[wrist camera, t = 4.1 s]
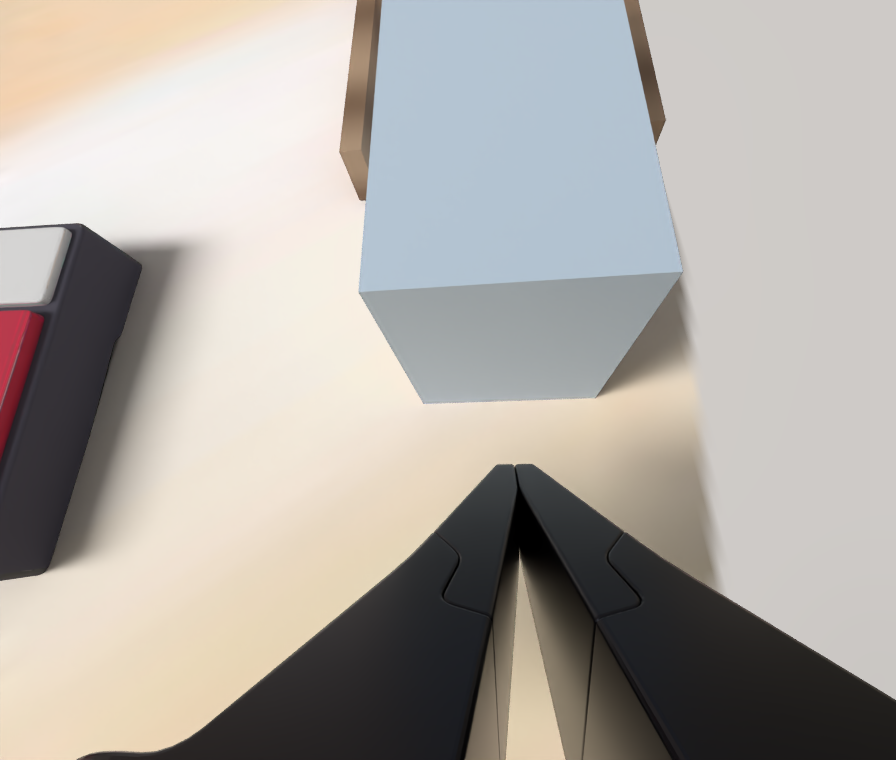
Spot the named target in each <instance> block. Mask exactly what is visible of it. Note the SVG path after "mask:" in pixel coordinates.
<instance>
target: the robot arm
mask: <svg viewBox="0 0 896 760" xmlns="http://www.w3.org/2000/svg"><path fill="white" fill-rule="evenodd" d="M519 552H520V559H521V565H522V570H523V574H524V578H525V583H526V587H527V592H528V596H529V600H530V605H531V609H532V614H533V618H534V622H535V627H536V631H537V636H538V640H539V644H540V649H541V653H542V658H543V662H544V666H545V671H546V675H547V680H548V684H549V688H550V693H551V697H552V702H553V706H554V710H555V715H556V719H557V724H558V728H559V732H560V737H561V741H562V746H563V750H564V755H565V759H566V760H896V700H895V699H893V698H891V697H890V696H888V695H887V694H885V693H883V692H882V691H880V690H878V689H877V688H875V687H873V686H872V685H870V684H868V683H867V682H865V681H863V680H862V679H860V678H859V677H857V676H855V675H854V674H852V673H850V672H849V671H847V670H845V669H844V668H842V667H840V666H839V665H837V664H835V663H834V662H832V661H830V660H829V659H827V658H826V657H824V656H822V655H821V654H819V653H817V652H816V651H814V650H812V649H810V648H809V647H807V646H806V645H804V644H802V643H801V642H799V641H797V640H796V639H794V638H793V637H791V636H789V635H788V634H786V633H784V632H782V631H781V630H779V629H778V628H776V627H774V626H773V625H771V624H769V623H768V622H766V621H764V620H763V619H761V618H760V617H758V616H756V615H755V614H753V613H751V612H750V611H748V610H746V609H745V608H743V607H741V606H740V605H738V604H736V603H734V602H733V601H731V600H730V599H728V598H727V597H725V596H723V595H722V594H720V593H718V592H717V591H715V590H713V589H712V588H710V587H708V586H707V585H705V584H703V583H702V582H700V581H698V580H697V579H695V578H694V577H692V576H690V575H689V574H687V573H685V572H684V571H682V570H681V569H679V568H678V567H676V566H674V565H673V564H671V563H670V562H668V561H666V560H665V559H663V558H662V557H660V556H659V555H657V554H656V553H655V552H653V551H652V550H650V549H649V548H647V547H646V546H645V545H643V544H642V543H640V542H639V541H638V540H636V539H635V538H633V537H632V536H631V535H629V534H628V533H624V531H623V530H621V529H620V528H619V527H617V526H616V525H615V524H613V523H612V522H611V521H609V520H608V519H607V518H605V517H604V516H603V515H601V514H600V513H598V512H597V511H596V510H594V509H593V508H592V507H590V506H589V505H588V504H586V503H585V502H584V501H582V500H581V499H580V498H578V497H577V496H575V495H574V494H573V493H571V492H570V491H569V490H567V489H566V488H565V487H563V486H562V485H561V484H559V483H558V482H556V481H555V480H554V479H552V478H551V477H550V476H548V475H547V474H546V473H544V472H543V471H542V470H540V469H539V468H538V467H536V466H535V465H533V464H517V465H516V466H515V467H514V465H512V464H500V465H496V466H495V467H494V468H493V469H492V470H491V471H490V472H489V473H488V474H487V476H486V477H485V478H484V479H483V480H482V481H481V482H480V483H479V484H478V485H477V486H476V487H475V488H474V490H473V491H472V492H471V493H470V494H469V495H468V496H467V497H466V498H465V499H464V500H463V501H462V502H461V504H460V505H459V506H458V507H457V508H456V509H455V510H454V511H453V512H452V513H451V514H450V515H449V516H448V518H447V519H446V520H445V521H444V522H443V523H442V524H441V525H440V526H439V527H438V528H437V529H436V530H435V532H434V533H432V534H431V535H430V536H429V537H428V538H427V539H426V540H425V541H424V542H423V543H422V544H421V545H420V546H419V547H418V548H417V549H416V550H415V551H414V552H413V553H412V554H411V555H410V556H409V557H408V558H407V559H406V560H405V561H404V562H403V563H401V564H400V565H399V566H398V567H397V568H396V569H395V570H393V571H392V572H391V573H390V574H389V575H388V576H386V577H385V578H384V579H383V580H381V581H380V582H379V583H378V584H377V585H375V586H374V587H373V588H372V589H371V590H369V591H368V592H367V593H366V594H365V595H363V596H362V597H361V598H360V599H358V600H357V601H356V602H355V603H354V604H352V605H351V606H350V607H349V608H348V609H346V610H345V611H344V612H343V613H341V614H340V615H339V616H338V617H337V618H335V619H334V620H333V621H332V622H331V623H329V624H328V625H327V626H326V627H325V628H323V629H322V630H321V631H320V632H318V633H317V634H316V635H315V636H314V637H312V638H311V639H310V640H309V641H308V642H306V643H305V644H304V645H303V646H301V647H300V648H299V649H298V650H297V651H295V652H294V653H293V654H292V655H291V656H289V657H288V658H287V659H286V660H285V661H283V662H282V663H281V664H280V665H278V666H277V667H276V668H275V669H274V670H272V671H271V672H270V673H269V674H268V675H266V676H265V677H264V678H263V679H261V680H260V681H259V682H258V683H257V684H255V685H254V686H253V687H252V688H251V689H249V690H248V691H247V692H246V693H245V694H243V695H242V696H241V697H240V698H238V699H237V700H236V701H235V702H234V703H232V704H231V705H230V706H229V707H228V708H226V709H225V710H224V711H223V712H222V713H220V714H219V715H218V716H217V717H215V718H214V719H213V720H212V721H211V722H209V723H208V724H207V725H206V726H205V727H203V728H202V729H200V730H199V731H198V732H196V733H195V734H193V735H192V736H191V737H189V738H187V739H185V740H183V741H181V742H180V743H178V744H176V745H174V746H171V747H168V748H165V749H162V750H159V751H154V752H128V751H103V752H96V753H91V754H88V755H85V756H83V757H81V758H78V759H77V760H506V746H507V732H508V718H509V703H510V689H511V675H512V660H513V646H514V632H515V617H516V603H517V589H518V574H519Z"/></svg>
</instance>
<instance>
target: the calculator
mask: <svg viewBox="0 0 896 760" xmlns="http://www.w3.org/2000/svg"><path fill="white" fill-rule="evenodd" d="M141 268H142V266H141V264H140V263H139V262H137V261H136V260H134V259H133V258H132V257H130V256H129V255H127V254H126V253H124V252H123V251H121V250H120V249H118V248H117V247H116V246H114V245H113V244H111V243H110V242H108V241H107V240H105V239H104V238H102V237H101V236H99V235H98V234H96V233H95V232H93V231H92V230H91V229H89V228H88V227H86V226H84V225H83V224H79V223H74V224H58V225H42V226H26V227H10V228H0V581H2V580H9V579H16V578H23V577H29V576H36V575H40V574H42V573H44V572H45V571H46V570H47V568H48V567H49V564H50V562H51V559H52V556H53V553H54V549H55V546H56V543H57V540H58V536H59V533H60V530H61V527H62V524H63V520H64V517H65V514H66V511H67V507H68V504H69V501H70V498H71V495H72V491H73V488H74V485H75V482H76V478H77V475H78V472H79V469H80V465H81V462H82V459H83V456H84V452H85V449H86V446H87V443H88V439H89V436H90V432H91V429H92V425H93V422H94V418H95V414H96V411H97V407H98V403H99V399H100V395H101V391H102V387H103V384H104V380H105V376H106V372H107V368H108V364H109V360H110V357H111V353H112V349H113V346H114V342H115V341H116V340H117V339H118V338H119V337H120V336H121V333H122V330H123V327H124V324H125V321H126V318H127V314H128V311H129V308H130V305H131V302H132V298H133V295H134V292H135V289H136V285H137V282H138V279H139V276H140V272H141Z"/></svg>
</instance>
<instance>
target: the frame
mask: <svg viewBox="0 0 896 760" xmlns="http://www.w3.org/2000/svg"><path fill="white" fill-rule="evenodd" d="M624 4H625V8H626V13H627V17H628V22H629V27H630V31H631V36H632V40H633V45H634V49H635V54H636V59H637V63H638V68H639V72H640V77H641V81H642V86H643V91H644V95H645V100H646V104H647V109H648V113H649V118H650V123H651V127H652V132H653V136H654V141H655V145H656V143H657V141H658V138H659V136H660V133H661V131H662V128H663V126H664V123H665V121H666V119H665V115H664V110H663V106H662V102H661V97H660V93H659V89H658V84H657V80H656V76H655V71H654V67H653V63H652V58H651V54H650V49H649V45H648V41H647V36H646V32H645V27H644V23H643V19H642V14H641V11H640V6H639V1H638V0H624ZM381 7H382V0H357V5H356V14H355V22H354V31H353V40H352V48H351V57H350V65H349V74H348V82H347V91H346V99H345V108H344V116H343V125H342V133H341V142H340V151H339V152H340V154H341V157H342V159H343V161H344V164H345V166H346V169H347V171H348V173H349V176H350V178H351V181H352V183H353V185H354V188H355V190H356V192H357V195H358V197H359V200H366V194H367V181H368V169H369V157H370V144H371V132H372V119H373V107H374V94H375V82H376V69H377V57H378V44H379V32H380V19H381Z"/></svg>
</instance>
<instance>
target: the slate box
mask: <svg viewBox="0 0 896 760" xmlns="http://www.w3.org/2000/svg"><path fill="white" fill-rule="evenodd" d="M682 273H683V269H682V264H681V260H680V255H679V250H678V246H677V241H676V237H675V232H674V228H673V223H672V218H671V214H670V209H669V205H668V200H667V196H666V191H665V186H664V182H663V177H662V173H661V169H660V164H659V159H658V155H657V150H656V145H655V141H654V136H653V132H652V127H651V123H650V118H649V113H648V109H647V104H646V100H645V95H644V91H643V86H642V81H641V77H640V72H639V68H638V63H637V59H636V54H635V49H634V45H633V40H632V36H631V31H630V27H629V22H628V17H627V13H626V8H625V4H624V0H382V7H381V19H380V32H379V44H378V57H377V69H376V82H375V94H374V107H373V119H372V132H371V144H370V157H369V169H368V181H367V194H366V206H365V219H364V231H363V244H362V256H361V269H360V281H359V294H360V295H361V297H362V299H363V300H364V302H365V304H366V306H367V307H368V309H369V311H370V312H371V314H372V316H373V318H374V319H375V321H376V323H377V325H378V326H379V328H380V330H381V331H382V333H383V335H384V337H385V338H386V340H387V342H388V343H389V345H390V347H391V349H392V350H393V352H394V354H395V355H396V357H397V359H398V361H399V362H400V364H401V366H402V368H403V369H404V371H405V373H406V374H407V376H408V378H409V380H410V381H411V383H412V385H413V386H414V388H415V390H416V392H417V393H418V395H419V397H420V398H421V400H422V402H423V404H433V403H462V402H491V401H521V400H550V399H579V398H596V396H597V395H598V393H599V392H600V390H601V389H602V388H603V386H604V385H605V383H606V382H607V380H608V379H609V378H610V376H611V375H612V373H613V372H614V370H615V369H616V367H617V366H618V365H619V363H620V362H621V360H622V359H623V357H624V356H625V355H626V353H627V352H628V350H629V349H630V347H631V346H632V344H633V343H634V342H635V340H636V339H637V337H638V336H639V334H640V333H641V332H642V330H643V329H644V327H645V326H646V324H647V323H648V321H649V320H650V319H651V317H652V316H653V314H654V313H655V311H656V310H657V309H658V307H659V306H660V304H661V303H662V301H663V300H664V298H665V297H666V296H667V294H668V293H669V291H670V290H671V288H672V287H673V286H674V284H675V283H676V281H677V280H678V278H679V277H680V275H681V274H682Z"/></svg>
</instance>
